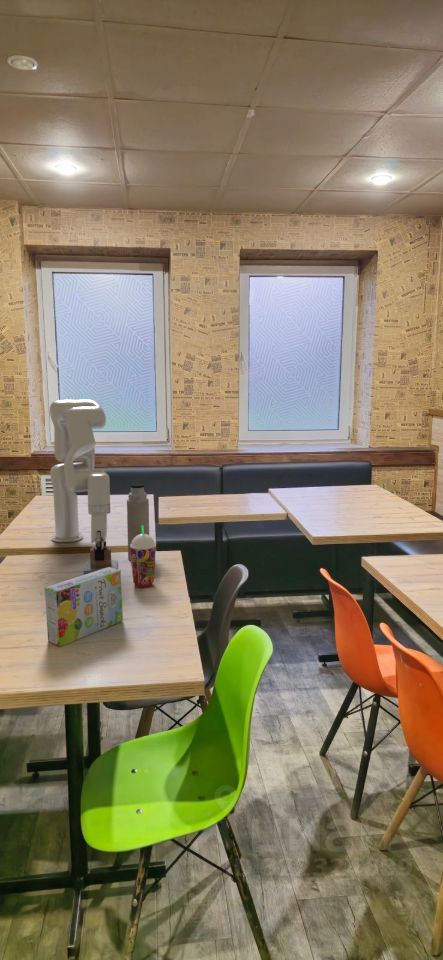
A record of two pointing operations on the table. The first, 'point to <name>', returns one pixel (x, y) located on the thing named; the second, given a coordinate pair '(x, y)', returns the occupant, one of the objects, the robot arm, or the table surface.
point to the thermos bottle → (137, 513)
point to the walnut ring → (101, 564)
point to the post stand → (90, 569)
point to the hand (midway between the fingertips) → (100, 556)
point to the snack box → (83, 605)
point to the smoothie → (143, 560)
